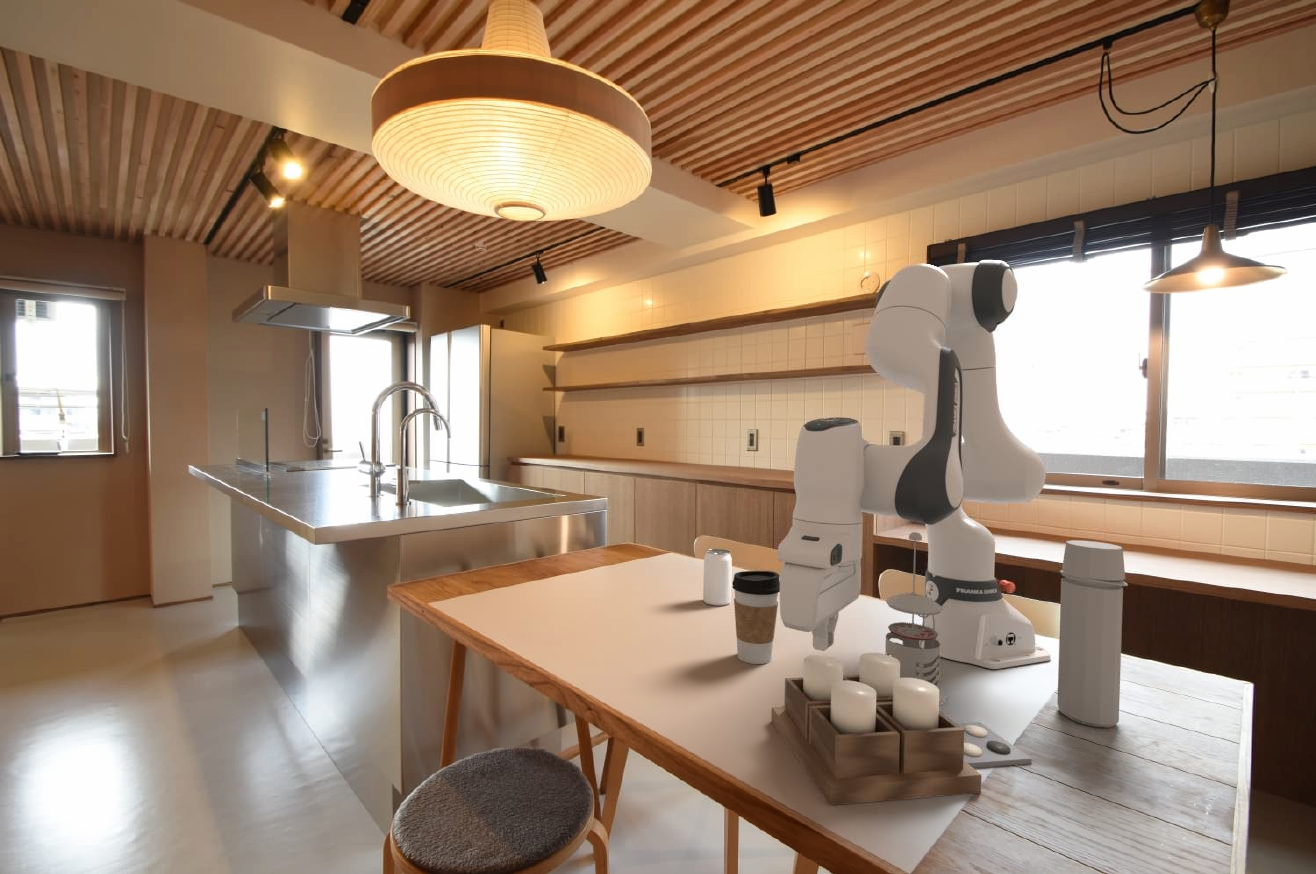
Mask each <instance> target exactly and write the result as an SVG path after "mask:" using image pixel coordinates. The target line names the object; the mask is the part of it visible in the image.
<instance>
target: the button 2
mask: <svg viewBox="0 0 1316 874" xmlns="http://www.w3.org/2000/svg"><path fill="white" fill-rule="evenodd" d="M830 724H831V725H832V726H833V727H834V728H835V729H836V730H837V731H838V733H839V734H840V735H845V734H861V733H875V726H876V691H875V690H874V689H873V688H872V687H870V686H868V685H866V684H863V683H860V682H856V681H848V680H843V681H837V682H834V683H833V684H832V686H831V719H830Z"/></svg>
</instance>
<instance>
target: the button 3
mask: <svg viewBox="0 0 1316 874" xmlns="http://www.w3.org/2000/svg"><path fill="white" fill-rule="evenodd" d="M858 675H859V682H860V683H863V684H866V685H868V686H870V687H872V688H873V689H874V690H875V691H876V698H880V697H893V682H894V680H896V679H898V678H900V661H899V660H897V659H896V658H894V657H892V656H891V655H885V653H880V652H867V653H866V652H865V653H862V654H861V655H860V656H859V674H858Z"/></svg>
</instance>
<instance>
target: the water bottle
mask: <svg viewBox="0 0 1316 874" xmlns="http://www.w3.org/2000/svg"><path fill="white" fill-rule="evenodd" d="M1123 549H1124V548H1123V547H1122V546H1120V545H1116V544H1112V543H1108V542H1107V543H1106V542H1099V541H1090V540H1078V539H1077V540H1066V541H1065V545H1064V554H1063V562H1062V569H1061V570H1059V573H1060V574H1061V576H1062V578H1061V579H1060V607H1059V608H1060V609H1059V615H1060V616H1059V637H1058V638H1059V640H1058V641H1059V643H1058V645H1059V646H1058V667H1057V668H1058V669H1057V670H1058V672H1057V675H1058V676H1057V677H1058V678H1057V701H1056V702H1057V707H1058V710H1059V711H1060V712H1061V714H1062V715H1064V716H1066V717H1067V718H1069V719H1070V720H1072V721H1074V722H1076V723H1079V724H1081V725H1084V726H1085V725H1086V726H1089V727H1094V728H1112V727H1113V726H1115V725H1117V724H1118V723H1119V722H1120V697H1121V696H1120V692H1121V689H1120V688H1121V665H1122V663H1121V661H1122V634H1123V633H1122V630H1123V629H1122V628H1123V627H1122V626H1123V603H1124V599H1123V597H1124V588H1123V587H1128V586H1129V584H1128V583H1127V582H1125V580H1126V570H1125V560H1124V550H1123Z"/></svg>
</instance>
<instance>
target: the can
mask: <svg viewBox="0 0 1316 874" xmlns="http://www.w3.org/2000/svg"><path fill="white" fill-rule="evenodd" d="M705 552H706V553H705V555H704V560H703V585H702V586H703V588H702V592H703V593H702V598H703V599H702V600H703V603H705V604H706V605H708V606H714V607H723V606H724V607H725V606H728V605H730V603H731V602H732V575H733V574H732V573H733V572H732V571H733V570H732V566H733V564H732V563H733V562H732V560H733V559H732V556H731V551H730V550H727V549H722V548H711V549H707V550H706V551H705Z"/></svg>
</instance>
